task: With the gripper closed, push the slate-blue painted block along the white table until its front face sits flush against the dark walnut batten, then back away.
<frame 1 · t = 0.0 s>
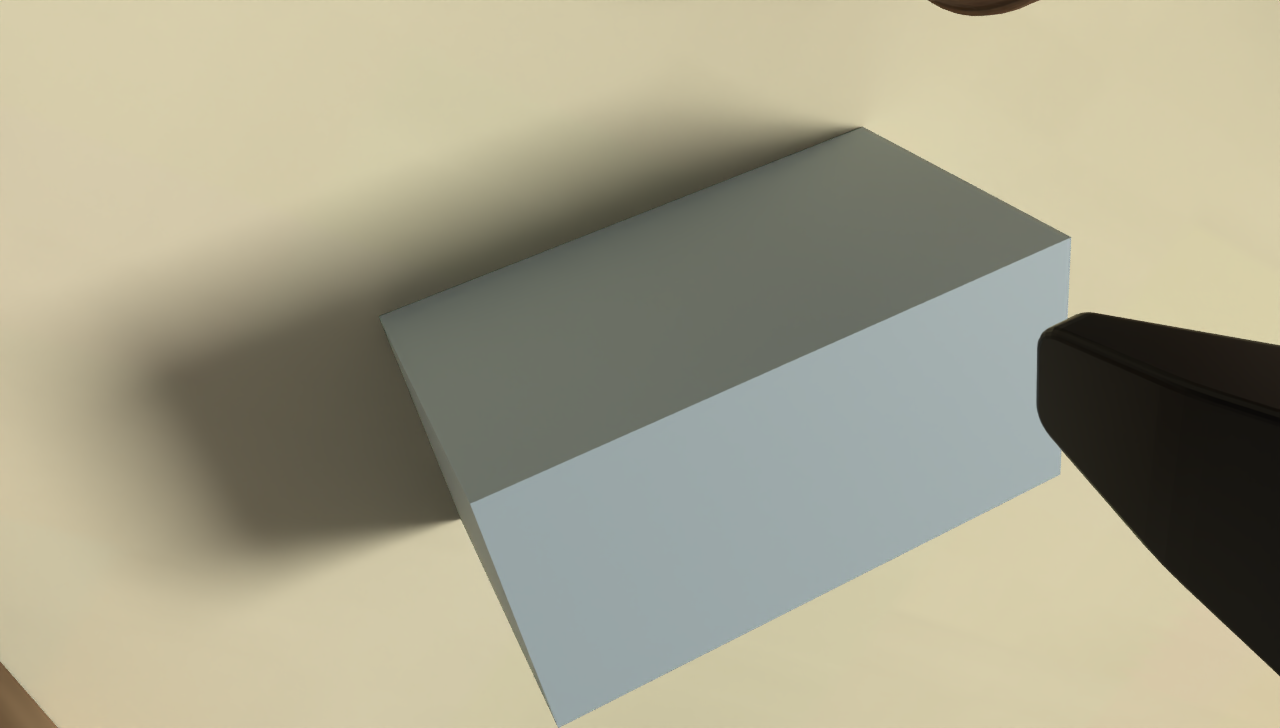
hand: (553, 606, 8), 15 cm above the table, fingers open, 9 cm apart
block: (656, 323, 26), on the table
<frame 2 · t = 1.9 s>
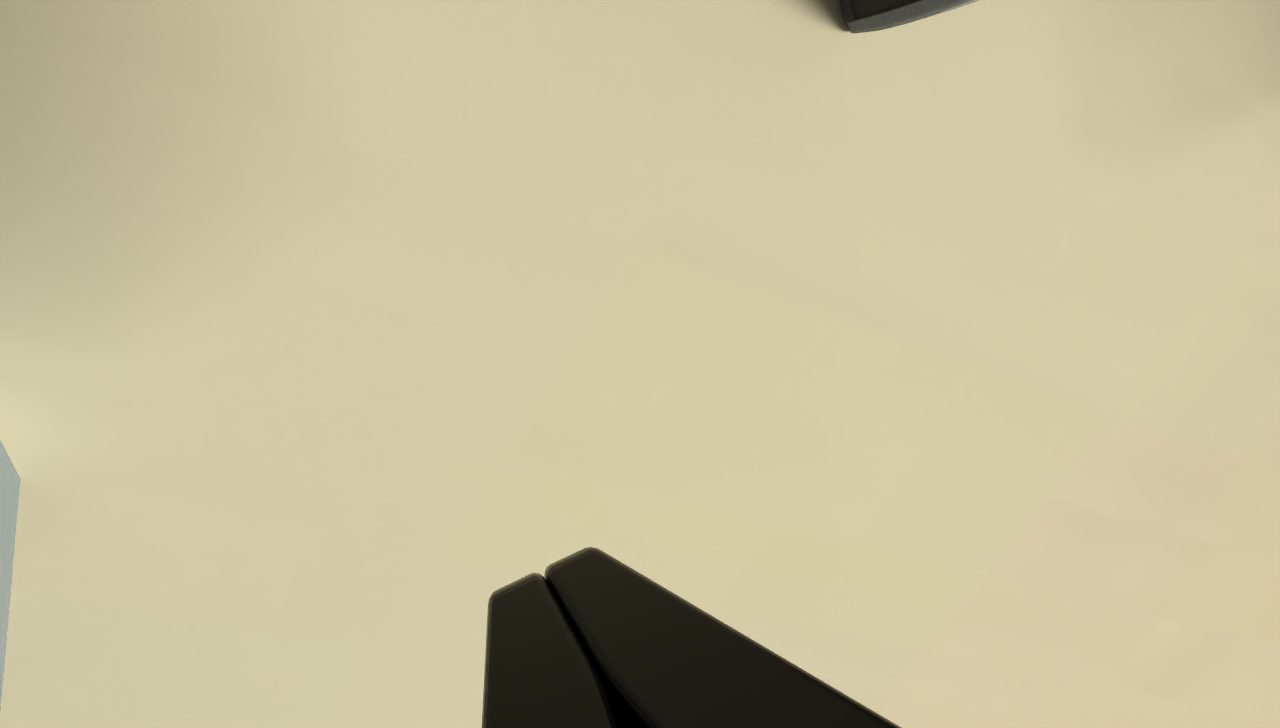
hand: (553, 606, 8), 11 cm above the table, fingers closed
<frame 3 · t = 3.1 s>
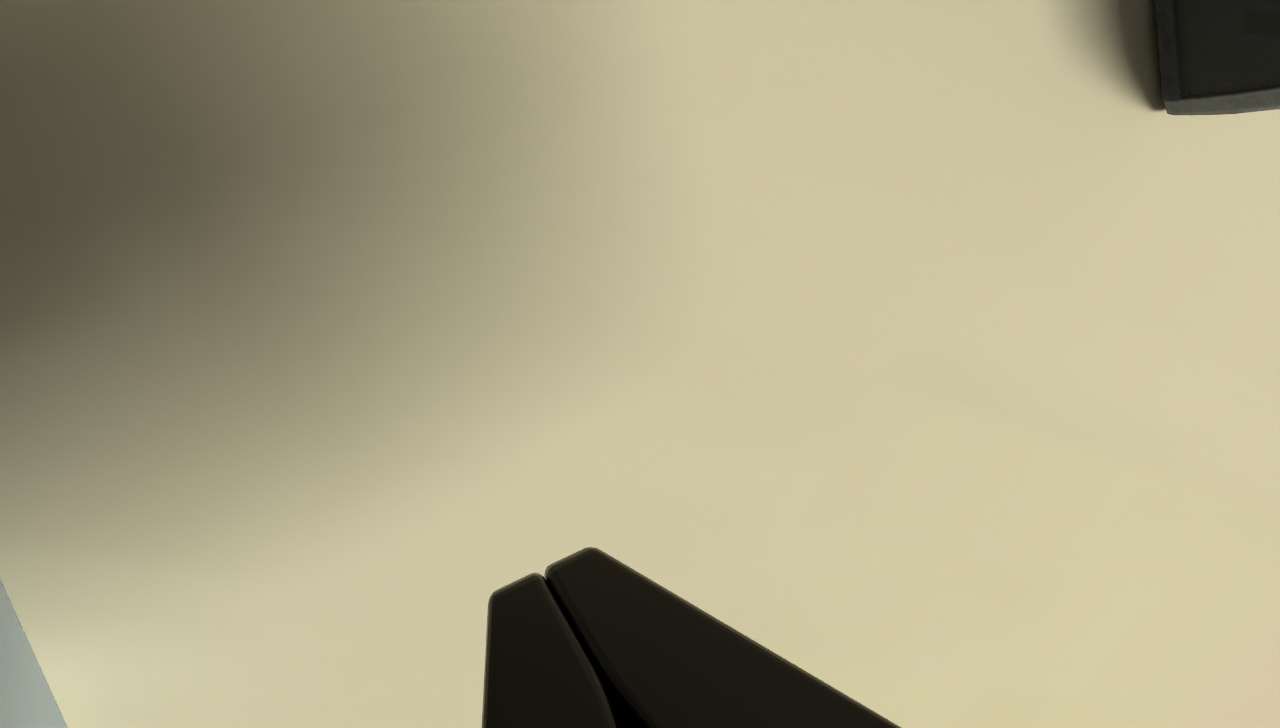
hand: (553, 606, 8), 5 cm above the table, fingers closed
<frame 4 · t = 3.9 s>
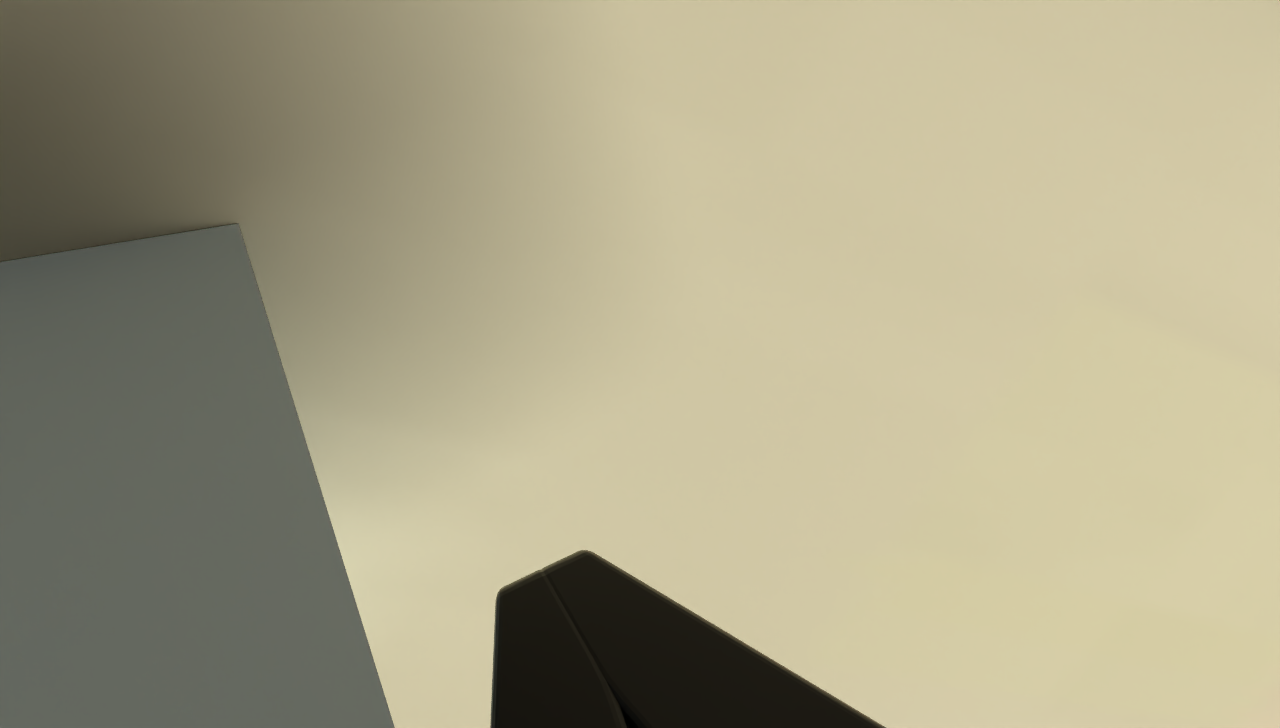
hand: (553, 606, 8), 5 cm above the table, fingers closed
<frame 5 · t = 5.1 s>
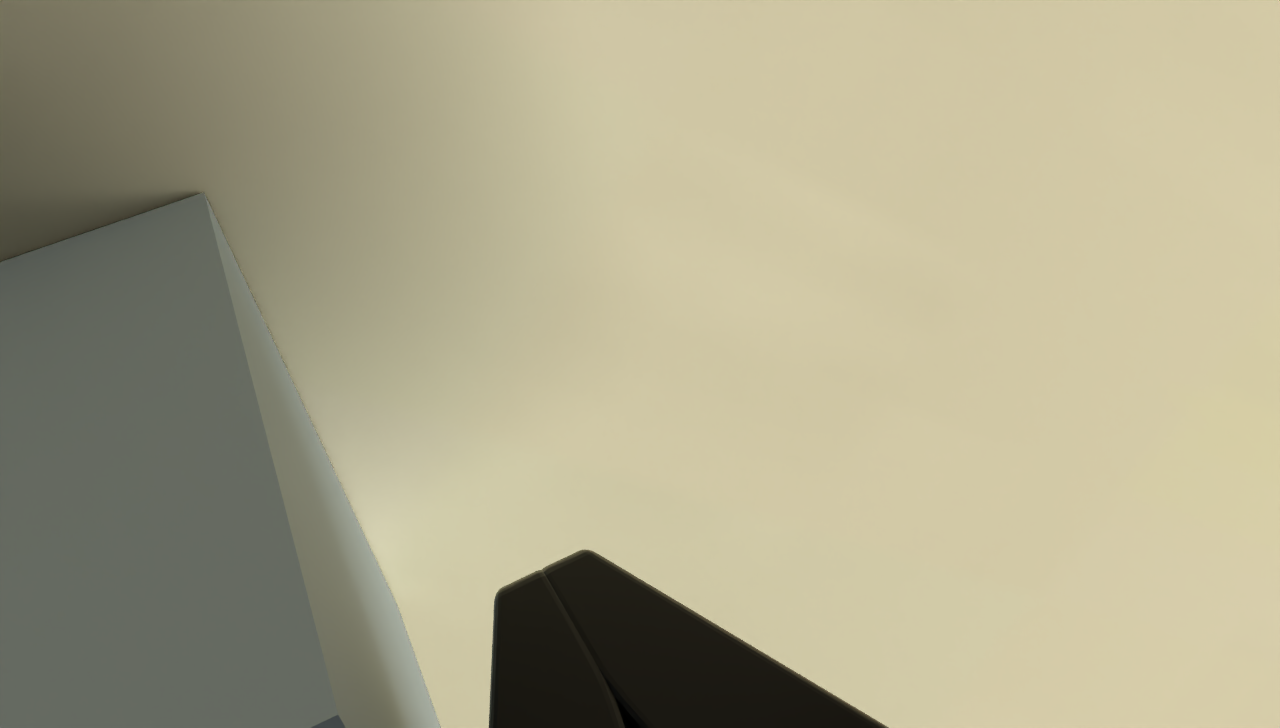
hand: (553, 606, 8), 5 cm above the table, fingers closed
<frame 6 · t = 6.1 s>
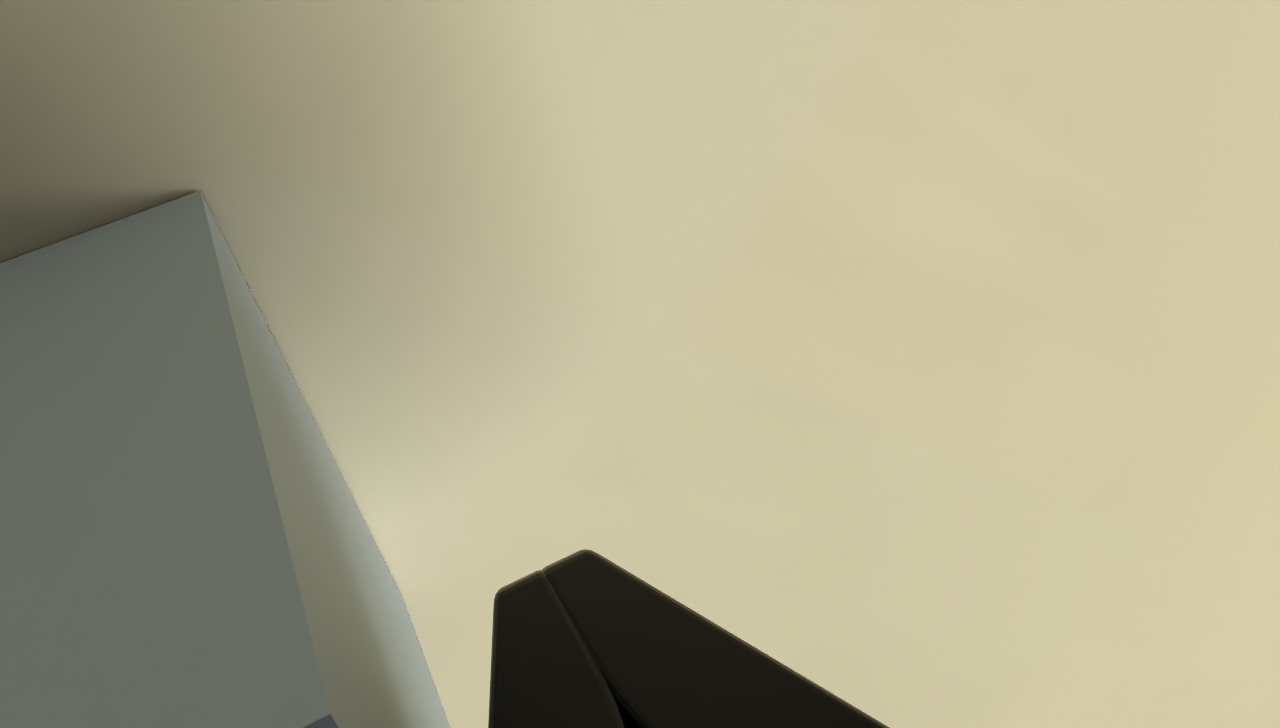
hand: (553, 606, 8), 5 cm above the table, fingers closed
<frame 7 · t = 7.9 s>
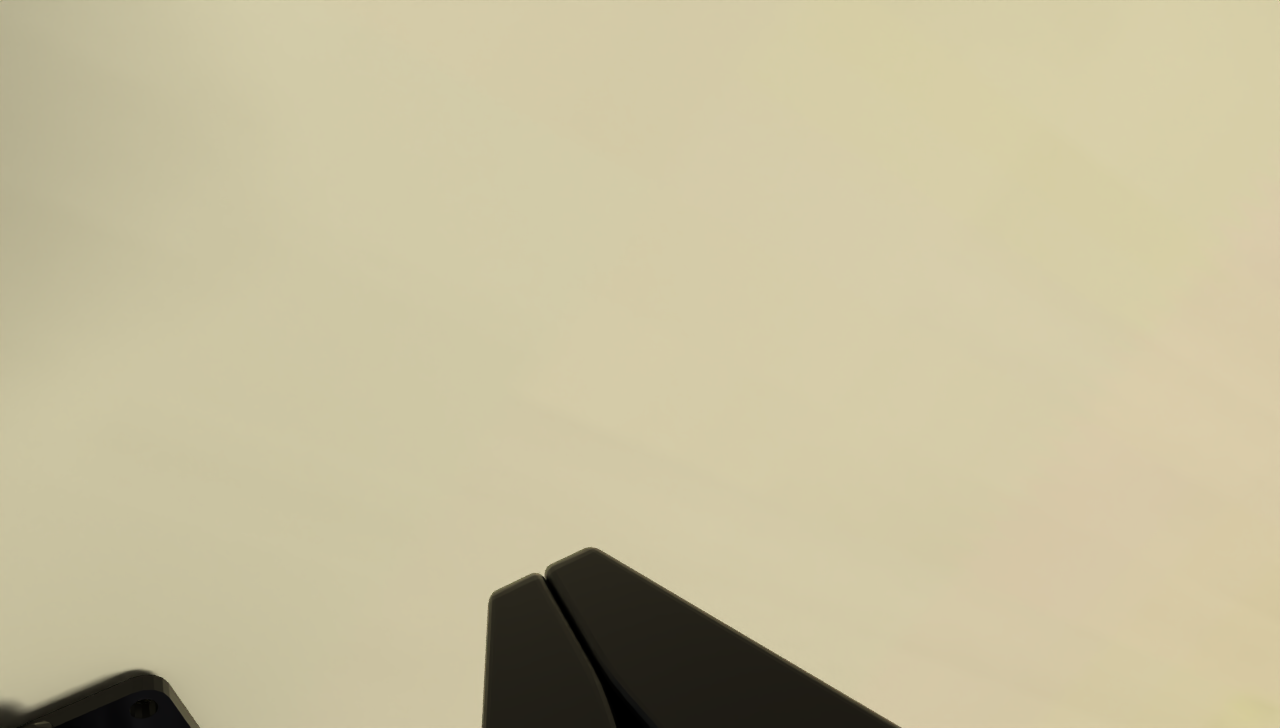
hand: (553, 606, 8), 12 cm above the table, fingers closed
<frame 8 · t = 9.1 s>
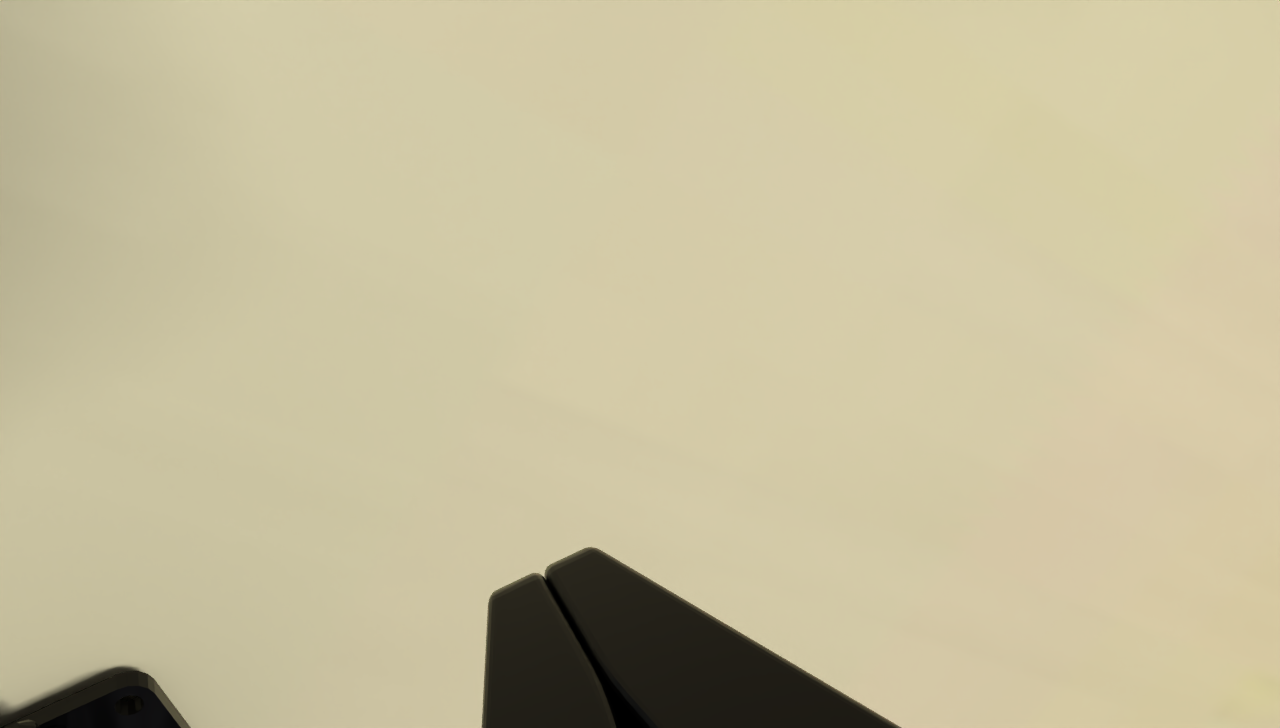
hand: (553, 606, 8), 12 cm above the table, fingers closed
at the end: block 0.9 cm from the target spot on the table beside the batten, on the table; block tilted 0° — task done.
